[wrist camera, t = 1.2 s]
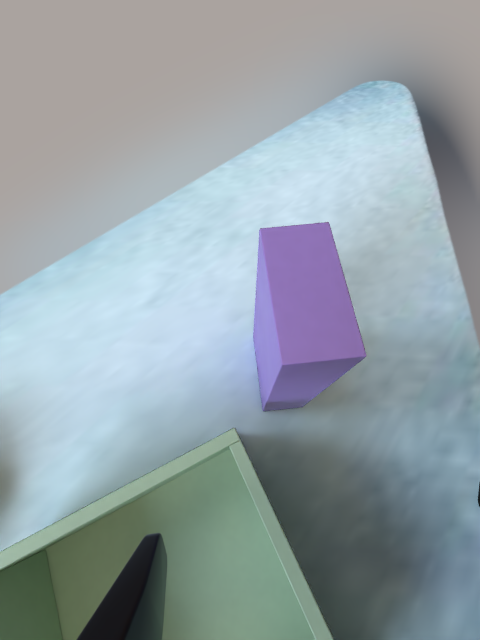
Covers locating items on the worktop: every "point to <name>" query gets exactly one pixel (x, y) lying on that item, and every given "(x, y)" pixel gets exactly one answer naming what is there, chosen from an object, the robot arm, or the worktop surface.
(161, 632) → the robot arm
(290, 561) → the green square tray
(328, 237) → the purple rectangular block
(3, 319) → the worktop surface
